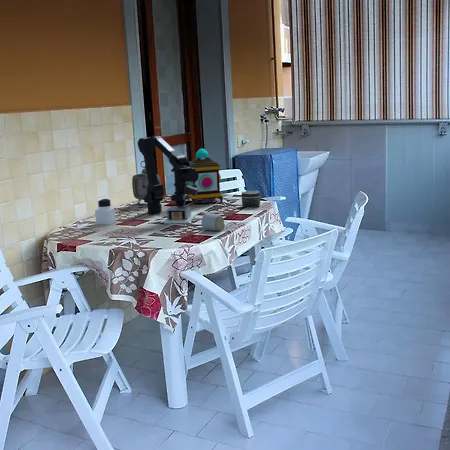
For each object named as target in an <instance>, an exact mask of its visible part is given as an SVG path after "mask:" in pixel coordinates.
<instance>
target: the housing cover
mask: <svg viewBox="0 0 450 450" xmlns="http://www.w3.org/2000/svg"><path fill="white" fill-rule="evenodd" d="M172 211H184V216H185V220H187V219H188V218H189V217H191V212H192V210H191V205H185V206H178V205H172V206H170V207H169V208H167V209H166V216H167V217H166V219H167V220H170V219H171V218H172V214H171V212H172Z"/></svg>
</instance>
